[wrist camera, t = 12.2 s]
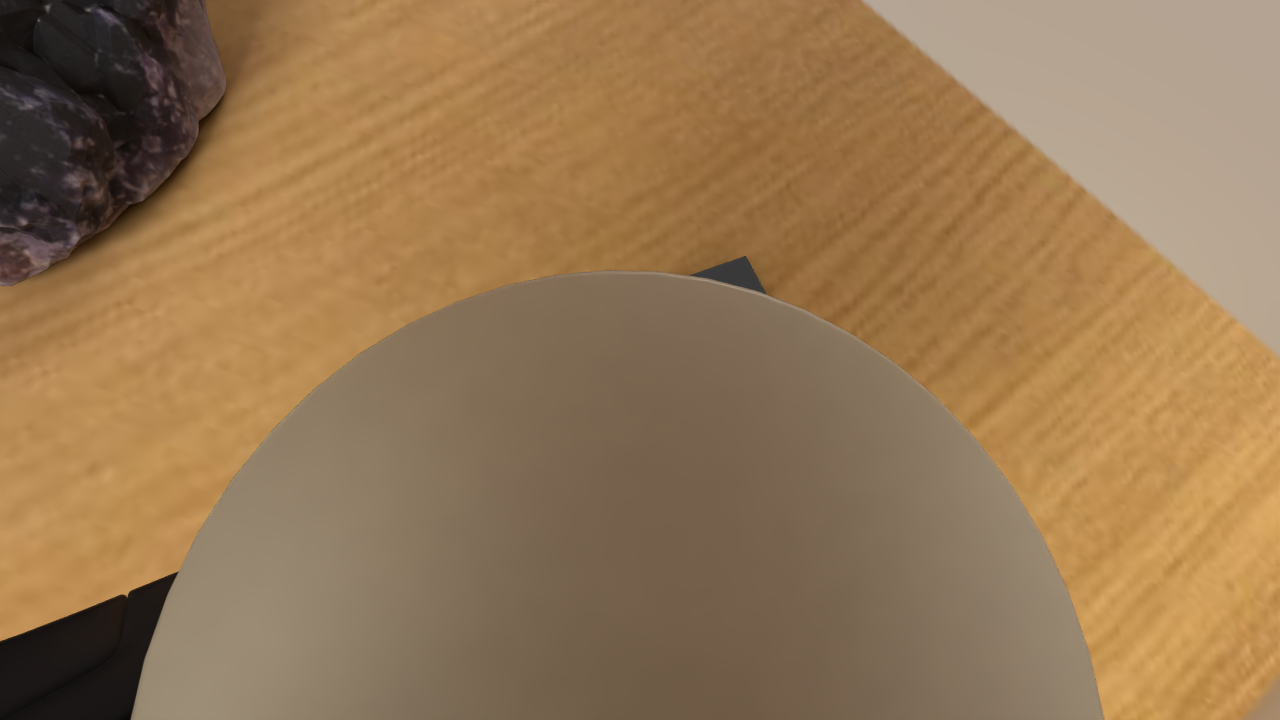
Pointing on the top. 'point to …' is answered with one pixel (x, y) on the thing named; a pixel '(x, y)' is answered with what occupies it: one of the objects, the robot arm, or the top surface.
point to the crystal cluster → (93, 115)
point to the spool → (619, 532)
